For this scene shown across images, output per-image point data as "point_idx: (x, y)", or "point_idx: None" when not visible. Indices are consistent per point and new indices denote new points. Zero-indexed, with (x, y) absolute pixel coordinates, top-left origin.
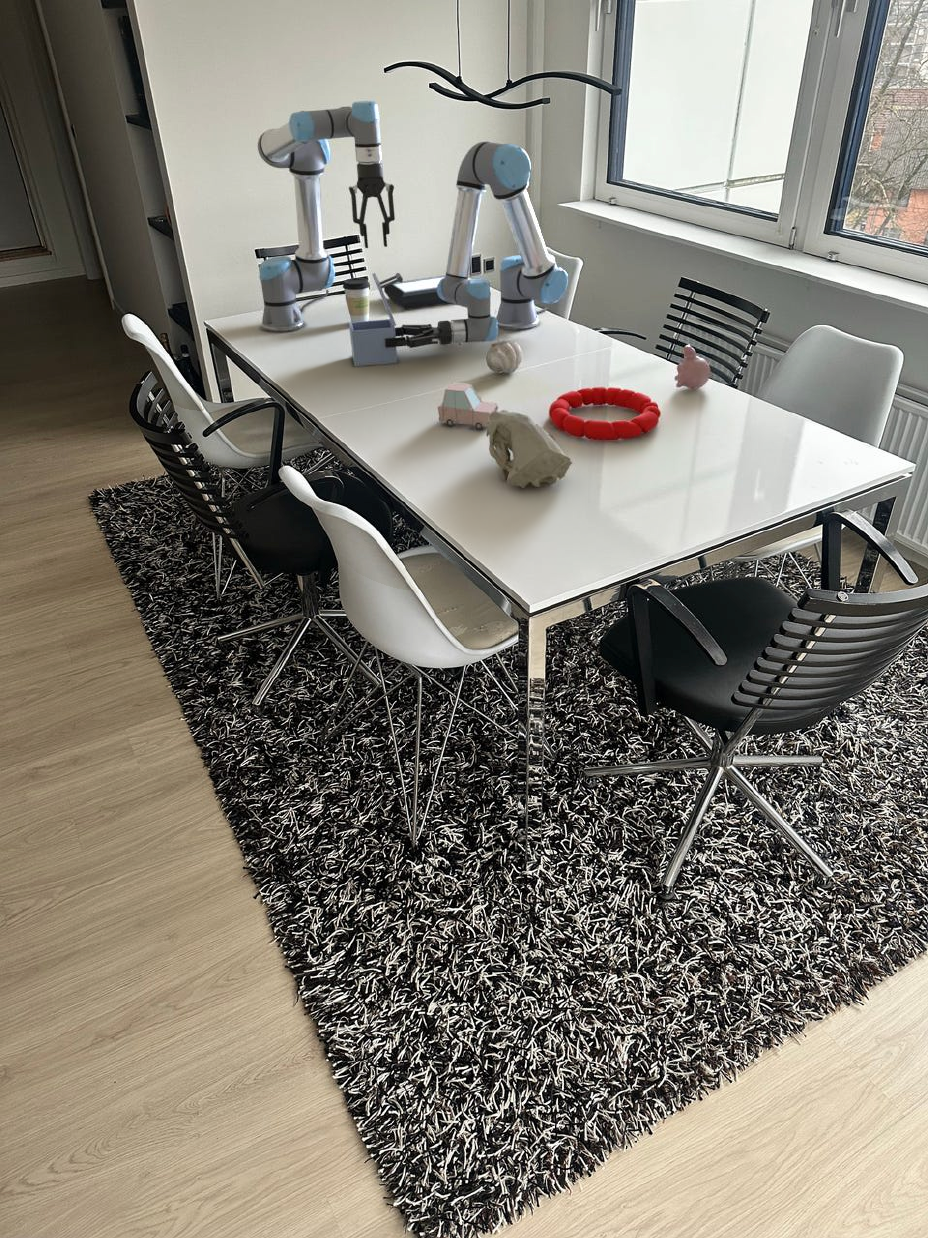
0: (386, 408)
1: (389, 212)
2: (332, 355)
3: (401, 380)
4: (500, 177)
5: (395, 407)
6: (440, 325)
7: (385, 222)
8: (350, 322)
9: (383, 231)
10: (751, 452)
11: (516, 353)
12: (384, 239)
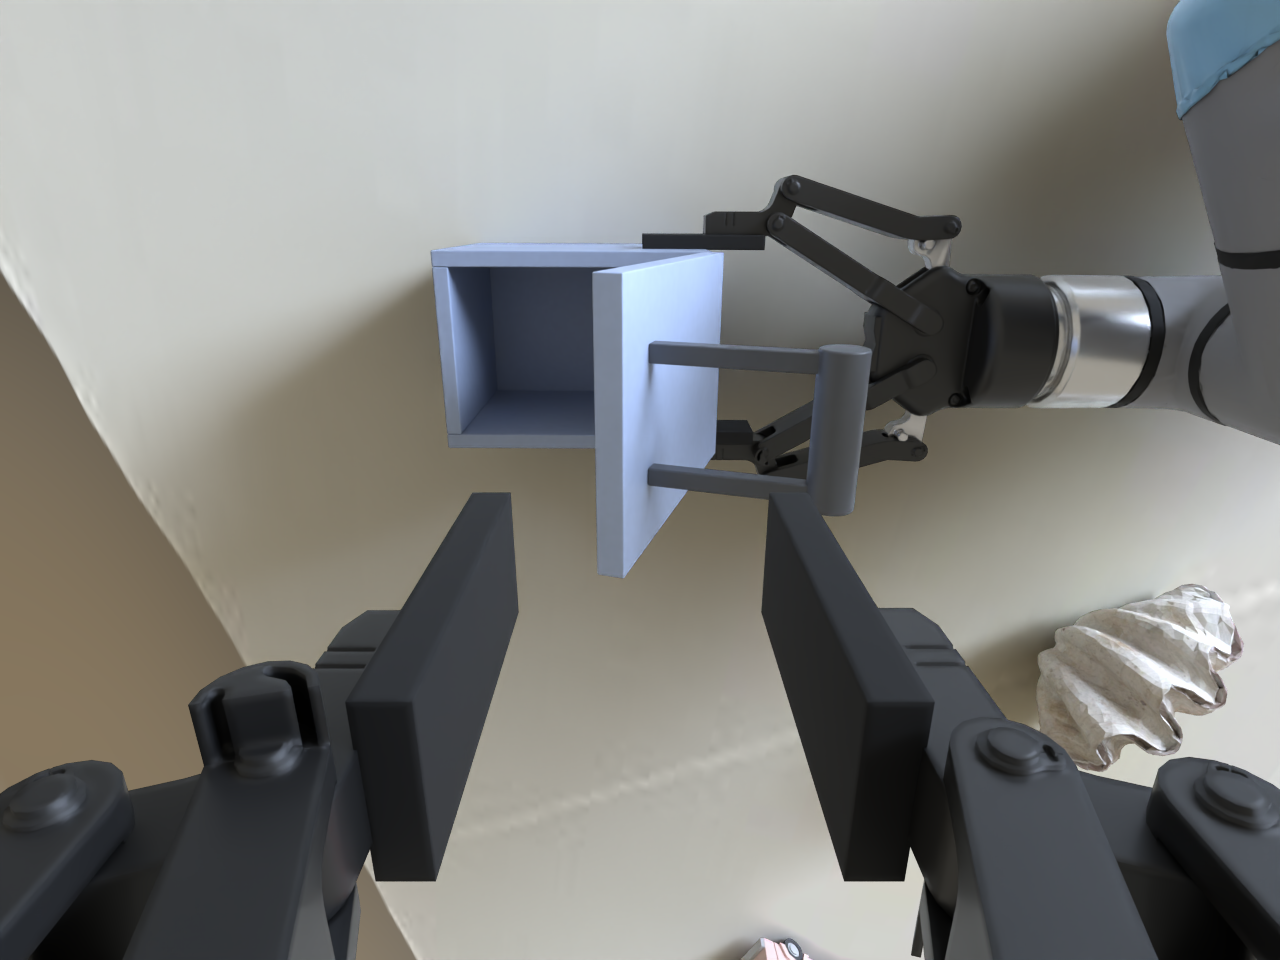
0: (583, 835)
1: (1274, 952)
2: (373, 189)
3: (672, 615)
4: None
5: (613, 835)
6: (983, 387)
7: (922, 871)
8: (440, 258)
9: (807, 737)
10: None
11: (1182, 711)
12: (783, 675)
